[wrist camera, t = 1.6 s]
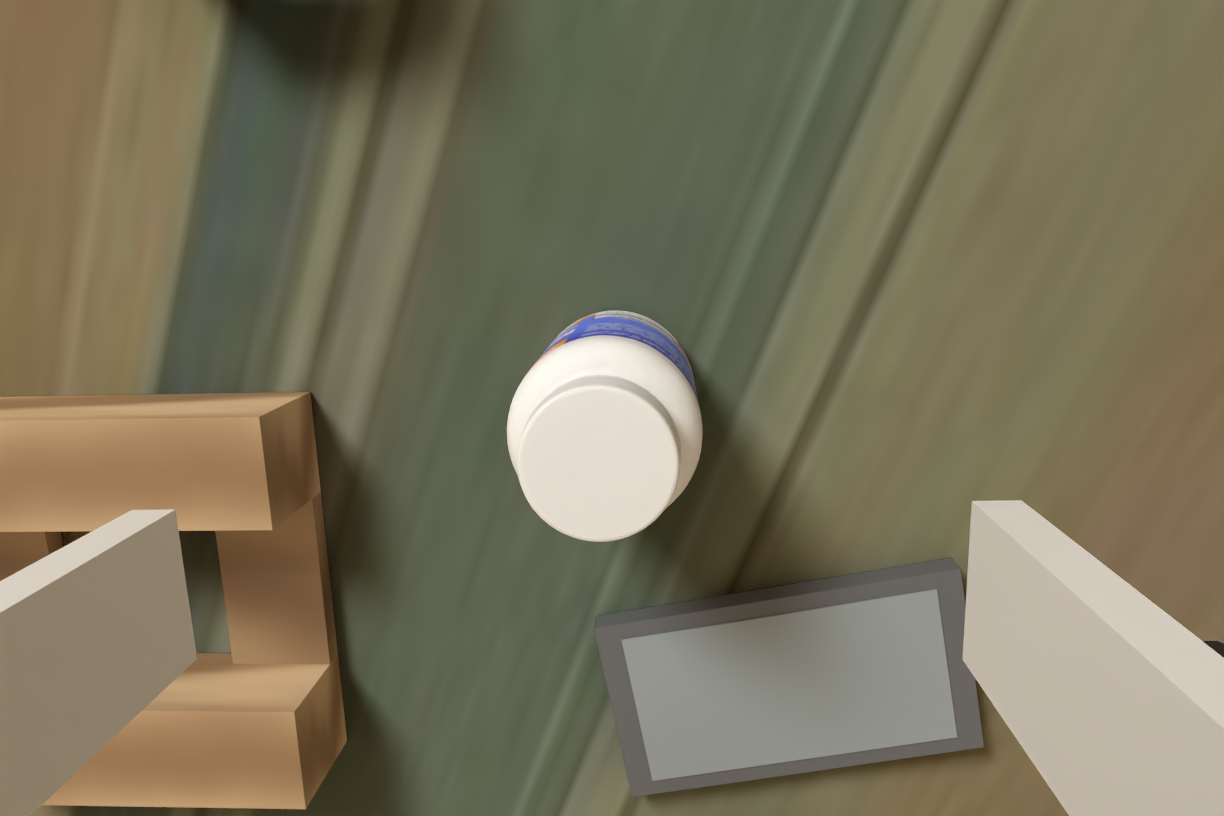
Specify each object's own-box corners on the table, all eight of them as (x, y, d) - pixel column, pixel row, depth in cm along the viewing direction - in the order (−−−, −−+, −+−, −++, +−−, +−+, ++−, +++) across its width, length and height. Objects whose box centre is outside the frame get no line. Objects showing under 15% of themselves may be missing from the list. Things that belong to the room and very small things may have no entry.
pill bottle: (557, 293, 30) (507, 328, 20) (711, 328, 30) (733, 380, 20) (526, 442, 31) (464, 541, 21) (673, 476, 31) (678, 591, 21)
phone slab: (595, 616, 32) (593, 629, 31) (951, 558, 31) (961, 569, 30) (633, 780, 33) (631, 798, 32) (974, 731, 32) (984, 748, 31)
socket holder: (-60, 397, 32) (-162, 423, 28) (310, 391, 31) (259, 416, 27) (7, 737, 35) (-76, 803, 31) (347, 741, 34) (305, 809, 30)
